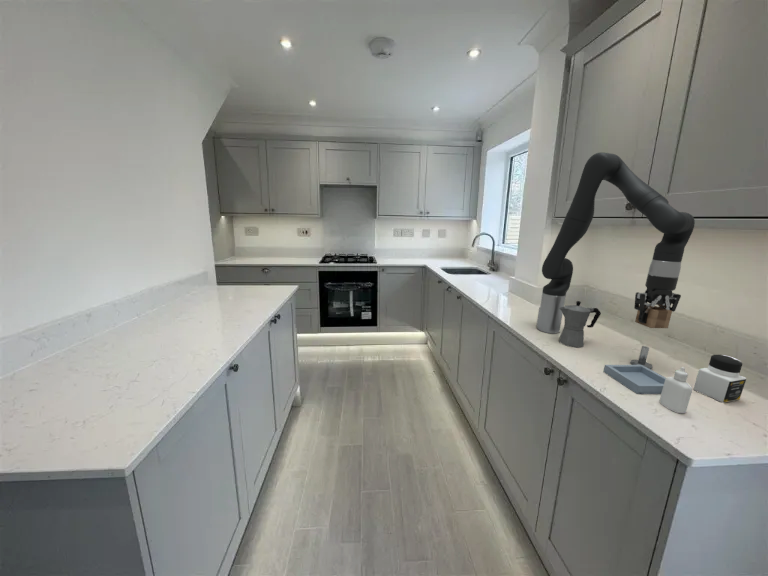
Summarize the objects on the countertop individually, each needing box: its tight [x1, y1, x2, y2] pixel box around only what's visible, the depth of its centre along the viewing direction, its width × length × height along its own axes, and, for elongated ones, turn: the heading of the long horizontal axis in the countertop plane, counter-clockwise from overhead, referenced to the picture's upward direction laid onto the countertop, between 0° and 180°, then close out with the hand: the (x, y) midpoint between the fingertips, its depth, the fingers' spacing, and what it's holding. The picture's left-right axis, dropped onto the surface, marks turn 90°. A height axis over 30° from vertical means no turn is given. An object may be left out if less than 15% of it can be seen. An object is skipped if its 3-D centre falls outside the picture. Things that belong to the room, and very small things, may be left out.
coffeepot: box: [558, 300, 601, 349], centre depth 122 cm, size 15×9×18 cm, turn 82°
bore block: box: [634, 305, 673, 329], centre depth 102 cm, size 6×6×6 cm
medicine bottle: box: [692, 354, 747, 404], centre depth 88 cm, size 7×7×12 cm
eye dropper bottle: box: [659, 366, 693, 414], centre depth 81 cm, size 4×6×12 cm
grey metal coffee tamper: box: [629, 345, 653, 370], centre depth 105 cm, size 6×6×7 cm
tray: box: [603, 364, 667, 395], centre depth 95 cm, size 13×13×3 cm
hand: (651, 322), depth 103 cm, fingers closed on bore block, 6 cm apart
